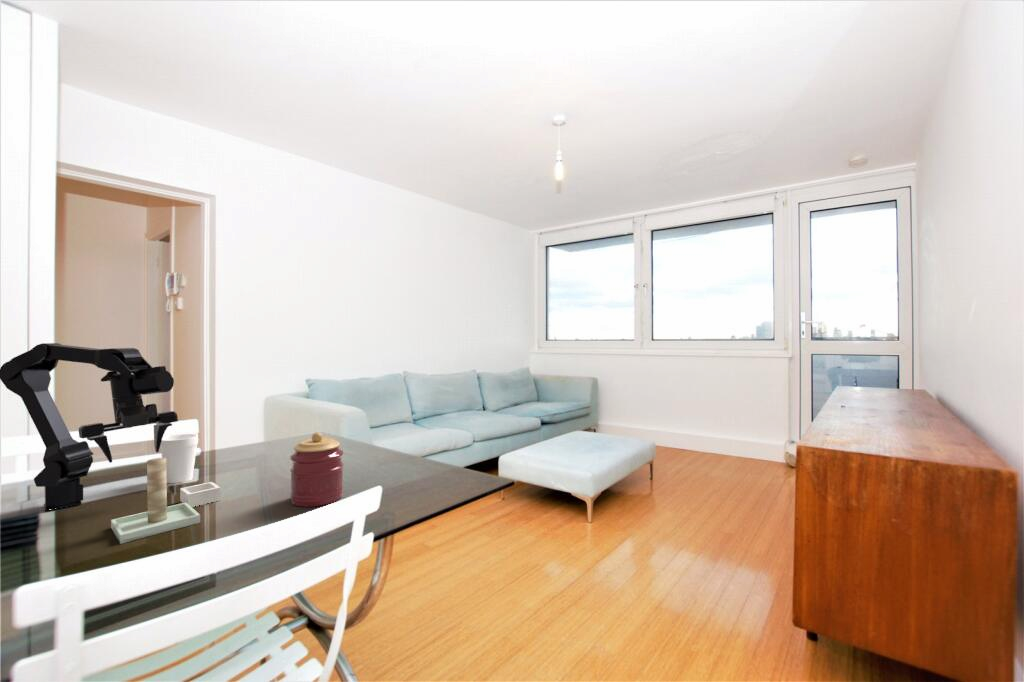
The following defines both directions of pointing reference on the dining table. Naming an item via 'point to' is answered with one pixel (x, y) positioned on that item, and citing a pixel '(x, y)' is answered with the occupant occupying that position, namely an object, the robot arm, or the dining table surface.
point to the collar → (200, 494)
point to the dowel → (156, 490)
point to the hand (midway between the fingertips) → (134, 457)
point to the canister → (316, 472)
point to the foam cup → (179, 456)
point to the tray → (140, 528)
